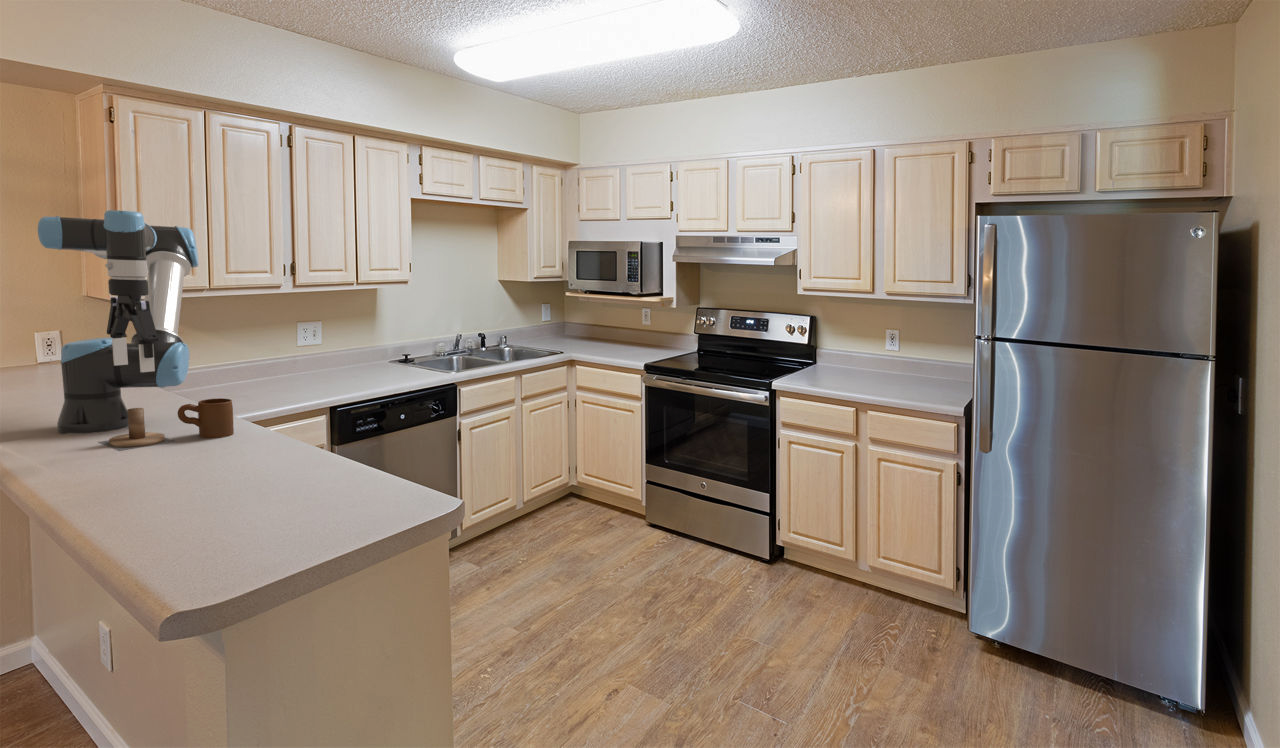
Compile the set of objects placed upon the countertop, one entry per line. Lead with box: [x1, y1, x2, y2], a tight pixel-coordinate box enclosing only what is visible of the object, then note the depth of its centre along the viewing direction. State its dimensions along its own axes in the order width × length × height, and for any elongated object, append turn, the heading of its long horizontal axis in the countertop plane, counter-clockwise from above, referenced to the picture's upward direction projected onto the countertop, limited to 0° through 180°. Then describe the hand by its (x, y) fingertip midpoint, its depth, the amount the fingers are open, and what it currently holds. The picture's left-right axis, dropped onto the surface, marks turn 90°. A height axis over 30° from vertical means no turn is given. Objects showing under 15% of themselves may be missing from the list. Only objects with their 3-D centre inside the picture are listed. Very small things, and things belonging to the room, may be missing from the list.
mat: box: [97, 436, 177, 452], centre depth 171 cm, size 12×12×1 cm
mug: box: [177, 398, 235, 439], centre depth 178 cm, size 12×8×9 cm, turn 131°
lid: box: [108, 407, 166, 448], centre depth 170 cm, size 11×11×8 cm
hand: (134, 368), depth 168 cm, fingers open, 13 cm apart
